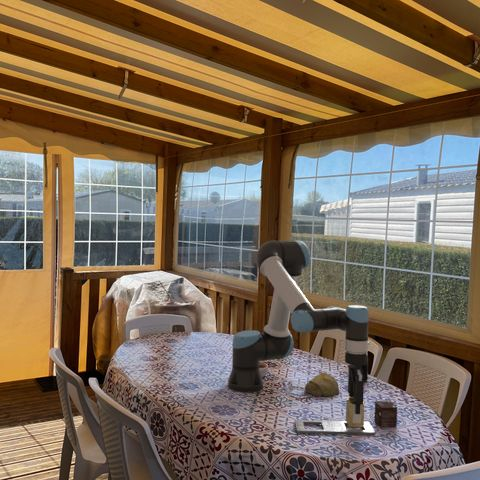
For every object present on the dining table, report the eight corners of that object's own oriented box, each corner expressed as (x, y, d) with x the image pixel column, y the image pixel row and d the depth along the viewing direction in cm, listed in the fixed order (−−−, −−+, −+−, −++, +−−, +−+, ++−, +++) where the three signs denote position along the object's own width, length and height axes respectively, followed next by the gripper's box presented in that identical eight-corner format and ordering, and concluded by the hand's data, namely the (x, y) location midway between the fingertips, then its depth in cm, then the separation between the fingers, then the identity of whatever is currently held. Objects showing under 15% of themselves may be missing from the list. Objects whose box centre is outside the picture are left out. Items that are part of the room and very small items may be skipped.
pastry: (340, 390, 213) (341, 371, 213) (337, 399, 201) (338, 379, 201) (307, 386, 217) (308, 368, 217) (302, 395, 205) (303, 376, 205)
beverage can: (367, 383, 223) (368, 356, 223) (352, 381, 225) (353, 355, 224) (367, 378, 230) (367, 352, 229) (352, 377, 231) (353, 351, 231)
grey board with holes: (297, 433, 167) (297, 430, 167) (294, 422, 176) (294, 419, 176) (375, 435, 167) (375, 432, 167) (368, 424, 176) (368, 421, 176)
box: (373, 421, 179) (374, 401, 179) (390, 421, 179) (390, 400, 179) (380, 428, 173) (380, 407, 173) (397, 428, 173) (397, 407, 173)
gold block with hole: (348, 426, 169) (349, 402, 168) (345, 420, 174) (346, 397, 173) (363, 426, 169) (364, 403, 168) (360, 421, 174) (360, 398, 173)
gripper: (374, 358, 161) (372, 430, 162) (361, 345, 180) (359, 410, 180) (351, 358, 162) (349, 429, 162) (340, 345, 180) (338, 409, 180)
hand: (354, 419), depth 171 cm, fingers closed on gold block with hole, 5 cm apart
